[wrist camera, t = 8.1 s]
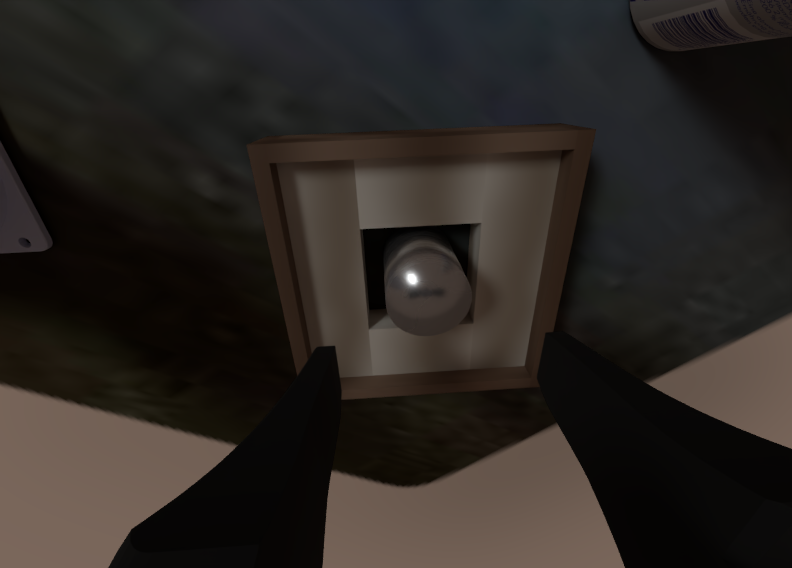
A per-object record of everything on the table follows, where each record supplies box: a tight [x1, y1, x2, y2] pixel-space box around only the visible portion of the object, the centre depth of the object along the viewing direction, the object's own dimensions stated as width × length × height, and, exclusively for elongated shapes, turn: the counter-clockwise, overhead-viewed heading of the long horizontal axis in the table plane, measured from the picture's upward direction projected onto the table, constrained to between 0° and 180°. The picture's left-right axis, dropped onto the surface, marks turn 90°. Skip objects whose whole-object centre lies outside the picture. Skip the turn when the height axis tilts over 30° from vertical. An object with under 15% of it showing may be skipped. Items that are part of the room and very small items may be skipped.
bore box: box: [247, 123, 596, 400], centre depth 18 cm, size 13×13×3 cm
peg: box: [383, 225, 472, 336], centre depth 17 cm, size 4×4×5 cm
